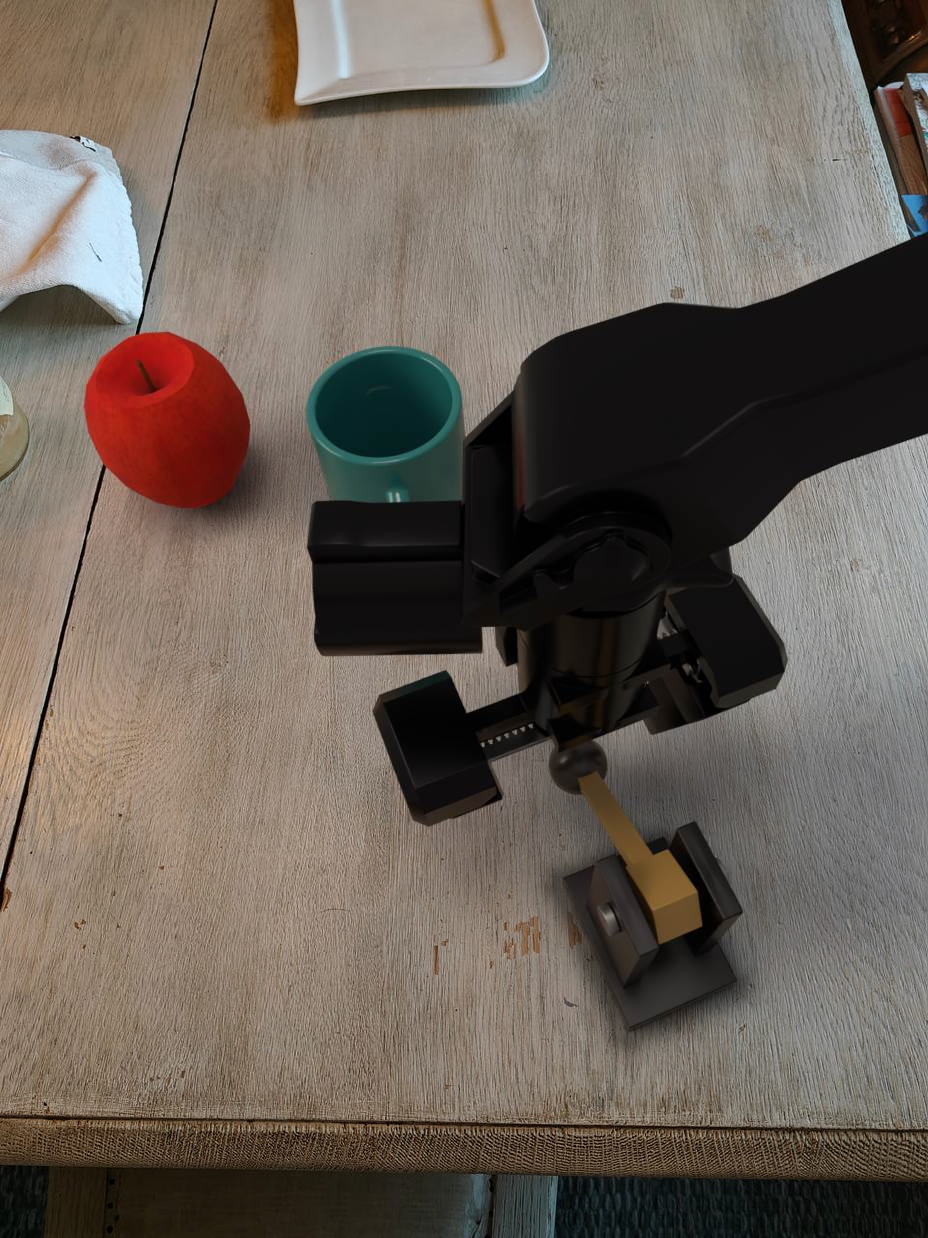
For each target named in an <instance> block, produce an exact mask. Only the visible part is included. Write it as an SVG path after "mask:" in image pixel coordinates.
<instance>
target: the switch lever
mask: <svg viewBox="0 0 928 1238" xmlns="http://www.w3.org/2000/svg"><path fill="white" fill-rule="evenodd" d="M608 762H609V761H608V757H607V753H606V752H605V750H604V748H603V747H602V746H601V744H600V743H598V742H597V741H596V740H595V739H593V740H591V741H588V742H586V743H583V744H581V745H578V746H576V747H573V748H571V749H568V750H566V751H563V752H560V753H557V750H556V748H555V746H553V748H552V749H551V752H550V754H549V757H548V771H549V775H550V777H551V779H552V781H553V782H554V784H555V786H557V788H559V789H560V790H562V792H565V793H567V794H570V795H574V796H583V797H584V799H585V800H586V803H588V805H589V806H590V808H591V810H592V811H593V813H594V816H595V817H596V818H597V819H598V821H599V823H600V824H601V826H602V827H603V829H604V830H605V832H606V834H607V835H608V837H609V839H610V840H611V842H612V844H613V845H614V846H615V848H616V849H617V851H618V853H619V855H620V854H621V856H622V857H623V859H624V861H625V862H626V864H627V865H628V866H626V872H627V877H628V881H629V883H630V885H631V887H632V889H633V892H634V894H635V896H636V898H637V900H638V902H639V904H640V906H641V908H642V910H643V913H644V915H645V917H646V919H647V921H648V923H649V925H650V927H651V929H652V931H653V933H654V936H655V938H656V940H657V942H658V944H662V943H664V942H667V941H669V940H671V939H674V938H676V937H678V936H681V935H683V934H685V933H688V932H690V931H692V930H695V929H697V928H699V927H702V919H701V912H700V905H699V898H698V891H697V890H696V888H695V887H694V885H693V884H692V883H691V881H690V880H689V878H688V877H687V875H686V874H685V873H684V871H683V870H682V868H681V867H680V865H679V864H678V863H677V861H676V860H675V858H674V857H673V855H672V854H671V852H670V851H669V850H668V849H667V850H665V851H662V852H660V853H658V854H655V855H653V854H652V852H651V851H650V849H649V848H648V846H647V845H646V842H645V841H644V839H643V838H642V836H641V834H640V833H639V831H638V830H637V829H636V827H635V825H634V824H633V823H632V821H631V819H630V818H629V817H628V815H627V814H626V812H625V811H624V809H623V808H622V806H621V804H619V802H618V800H617V799H616V796H614V794H613V793H612V792H611V790H610V788H609V787H608V785H607V784H606V783H605V780H606V777H607V774H608V770H609V763H608Z"/></svg>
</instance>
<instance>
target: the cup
mask: <svg viewBox="0 0 928 1238" xmlns="http://www.w3.org/2000/svg"><path fill="white" fill-rule="evenodd" d="M463 402H464V401H463V395H462V390H461V386H460V383H459V381H458V379H457V377H456V376H455V374H454V373H453V371H451V369H450V368H449V367H448V365H446V364H445V363H444V362H443V361H442V360H440V359H439V358H437V357H435V356H433V355H431V354H430V353H428V352H425V351H422V350H420V349H416V348H412V347H408V346H398V345H385V346H382V345H381V346H374V347H369V348H366V349H361V350H359V351H356V352H353V353H351V354H348V355H346V356H344V357H342V358H341V359H339V360H337V361H336V362H334V363H333V364H332V365H330V366H329V367H328V368H327V369H326V370H324V372H323V373H321V375H320V376H319V377H318V378H317V380H316V381H315V383H314V384H313V385H312V387H311V390H310V391H309V394H308V398H307V401H306V407H305V417H306V418H305V419H306V424H307V427H308V430H309V431H308V432H309V433H310V437H311V440H312V444H313V447H314V450H315V454H316V457H317V460H318V463H319V464H318V465H319V467H320V471H321V473H322V476H323V477H322V478H323V480H324V484H325V487H326V490H327V493H328V497H329V500H351V501H360V502H371V503H380V502H416V501H451V500H461V501H462V478H463V440H464V438H465V437H466V436H467V435H466V425H465V416H464V415H465V414H464V403H463Z"/></svg>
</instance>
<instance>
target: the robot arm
mask: <svg viewBox="0 0 928 1238" xmlns="http://www.w3.org/2000/svg"><path fill="white" fill-rule="evenodd" d="M519 369H520V372H519V373H518V375H517V377H516V380H515V383H514V386H513V388H512V391H510V393H509V394H507V396H506V397H505V398H503V400H502V401H500V402H499V403H498V405H496V407H494V408H493V410H491V411H490V412H489V413H488V414H487V415H486V416H485V417H484V419H482V420H481V421H480V422H479V423H478V424H477V425H476V426H475V427H474V428H473V429H472V430H471V431H469V433H468V434H467V435H466V437H465V438H464V440H463V478H462V501H461V500H451V501H416V502H380V503H371V502H360V501H351V500H330V499H328V500H315V501H314V502H312V503H311V506H310V514H309V523H308V533H307V540H306V541H307V542H306V550H307V553H308V556H309V558H310V561H311V573H312V574H311V578H312V579H311V580H312V581H311V583H312V599H313V600H312V601H313V609H314V625H313V626H314V627H313V641H314V644H315V646H316V650H317V652H318V653H319V654H320V656H322V657H325V658H326V657H328V658H329V657H330V658H331V657H372V656H373V657H375V656H376V657H379V656H380V657H381V656H424V655H425V656H428V655H429V656H430V655H431V656H432V655H436V656H437V655H482V654H483V652H484V639H483V637H484V636H483V628H494V635H495V636H494V639H495V640H494V641H495V648H496V649H497V651H498V654H499V657H500V658H501V660H502V663H503V665H504V667H505V668H508V667H511V666H514V665H516V668H517V688H518V693H516V694H513V695H511V696H507V697H505V698H503V699H500V700H498V701H495V702H492V703H490V704H487V705H485V706H481V707H479V708H476V709H474V710H471V711H469V712H467V710H466V708H465V705H464V702H463V701H462V698H461V696H460V693H459V692H458V689H457V687H456V684H455V681H454V679H453V678H452V676H451V675H450V673H449V672H448V671H447V669H444V670H441V671H438V672H436V673H434V674H430V675H428V676H425V677H422V678H420V679H417V680H415V681H411V682H409V683H407V684H403V685H401V686H399V687H396V688H393V689H391V690H388V691H385V692H382V693H380V694H378V696H377V699H376V701H375V704H374V706H373V708H372V711H371V712H372V716H373V717H374V721H375V724H376V726H377V728H378V731H379V734H380V736H381V739H382V742H383V745H384V747H385V750H386V753H387V755H388V758H389V761H390V763H391V767H392V769H393V771H394V774H395V777H396V779H397V782H398V785H399V788H400V790H401V793H402V795H403V799H404V800H405V804H406V806H407V809H408V812H409V814H410V818H411V820H412V821H413V822H416V823H417V824H420V825H423V826H424V827H428V828H431V827H432V826H434V825H438V824H439V823H442V822H445V821H448V820H455V819H458V818H461V817H463V816H465V815H468V814H471V813H473V812H477V811H478V810H480V809H483V808H485V807H488V806H491V805H493V804H495V803H496V804H497V803H499V802H500V801H503V799H504V797H505V792H504V790H503V787H502V786H501V783H500V781H499V779H498V776H497V774H496V772H495V769H494V767H493V764H492V763H494V762H497V761H499V760H501V759H504V758H507V757H509V756H512V755H514V754H517V753H519V752H522V751H525V750H527V749H530V748H532V747H535V746H537V745H541V744H543V743H545V742H548V741H550V740H551V742H552V744H553V747H555V748H556V750H557V753H560V752H563V751H566V750H568V749H571V748H573V747H576V746H578V745H581V744H583V743H586V742H588V741H591V740H596V739H598V738H601V737H603V736H606V735H608V734H611V733H613V732H616V731H619V730H622V729H624V728H626V727H629V726H631V725H633V724H636V723H639V722H641V721H643V725H645V727H646V729H647V731H648V733H649V734H650V735H651V736H655V735H659V734H661V733H665V732H668V731H671V730H674V729H677V728H681V727H685V726H687V725H692V724H694V723H698V722H701V721H705V720H707V719H709V718H712V717H714V716H717V715H719V714H722V713H724V712H727V711H729V710H732V709H735V708H737V707H739V706H742V705H745V704H747V703H748V702H750V701H751V700H752V699H755V698H757V697H760V696H762V695H765V694H767V693H769V692H772V691H775V690H776V689H778V686H779V685H780V682H781V680H782V678H783V676H784V674H785V672H786V669H787V665H788V662H789V658H788V654H787V650H786V645H785V642H784V641H783V639H782V638H781V636H780V635H779V633H778V632H777V630H776V628H775V627H774V626H773V624H772V622H771V620H770V619H769V617H768V616H767V614H766V613H765V611H764V609H763V608H762V606H761V604H760V603H759V602H758V601H757V599H756V597H755V596H754V594H753V592H752V591H751V590H750V587H749V586H748V585H747V583H746V581H745V580H744V579H743V577H741V576H740V575H738V574H736V573H734V569H733V565H732V564H733V563H732V557H731V551H730V547H732V546H735V545H737V544H739V543H741V542H743V541H744V540H745V539H746V538H748V537H749V536H750V535H751V534H752V532H754V531H755V529H756V528H757V527H758V526H759V525H760V524H761V523H762V522H763V521H764V520H766V518H767V517H768V516H769V515H770V514H771V513H772V512H773V510H775V509H776V507H777V506H778V505H779V504H780V503H781V502H782V501H783V500H785V499H786V497H787V496H788V495H789V494H790V493H791V492H792V491H793V490H794V488H796V487H797V486H798V484H800V483H802V482H803V481H805V480H807V479H809V478H812V477H814V476H816V475H818V474H820V473H823V472H825V471H827V470H829V469H831V468H834V467H836V466H838V465H841V464H843V463H846V462H850V461H852V460H855V459H858V458H861V457H864V456H867V455H870V454H873V453H875V452H879V451H883V450H885V449H887V448H891V447H894V446H896V445H899V444H902V443H905V442H908V441H912V440H915V439H917V438H919V437H923V436H925V435H928V230H927V231H925V232H923V233H921V234H918V235H916V236H913V237H912V238H909V239H907V240H904V241H903V242H900V243H898V244H896V245H893V246H891V247H889V248H887V249H884V250H881V251H879V252H877V253H875V254H873V255H871V256H868V257H866V258H864V259H861V260H859V261H857V262H854V263H851V264H850V265H848V266H846V267H843V268H841V269H838V270H836V271H834V272H831V273H829V274H827V275H825V276H823V277H820V278H818V279H815V280H813V281H811V282H809V283H807V284H804V285H802V286H800V287H797V288H795V289H792V290H790V291H788V292H786V293H783V294H781V295H778V296H774V297H770V298H768V299H764V300H762V301H757V302H755V303H750V304H748V305H744V306H741V307H732V306H723V305H722V306H720V305H709V304H699V303H687V302H676V301H666V302H665V301H664V302H661V303H656V304H653V305H648V306H646V307H643V308H639V309H637V310H634V311H630V312H627V313H624V314H621V315H618V316H615V317H612V318H608V319H605V320H602V321H599V322H595V323H592V324H589V325H586V326H583V327H580V328H576V329H573V330H569V331H567V332H565V333H562V334H559V335H557V336H555V337H553V338H552V339H550V340H548V341H546V342H545V343H544V344H542V345H540V346H539V347H537V348H536V349H534V350H533V351H532V352H531V353H530V354H529V355H528V356H527V357H526V358H525V359H524V360H523V361H522V362H521V364H520V365H519ZM531 725H532V726H531ZM523 728H524V731H523ZM515 731H516V734H515V733H514V732H515ZM507 734H508V737H507V736H506V735H507ZM498 738H500V740H499V739H498ZM491 740H492V743H491V742H490V741H491ZM483 744H484V745H483Z"/></svg>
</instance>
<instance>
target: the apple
mask: <svg viewBox="0 0 928 1238" xmlns="http://www.w3.org/2000/svg"><path fill="white" fill-rule="evenodd" d="M83 410H84V411H83V412H84V416H85V421H86V422H85V423H86V427H87V434H88V435H89V437H90V440H91V442H92V444H93V446H94V448H95V450H96V453H97V455H98V456H99V458H100V460H101V463H102V464H103V466H105V468H106V469H107V470H108V471H109V472H110V473H112V474H113V476H115V477H116V478H117V479H118V480H119V481H120V482H121V484H122V485H124V487H126V488H127V489H129V490H131V491H133V492H134V493H136V494H138V495H140V496H142V497H144V498H145V499H148V500H150V501H152V502H154V503H157V504H160V505H163V506H164V505H165V506H169V507H174V508H176V509H198V508H201V507H206V506H207V507H208V506H209V505H211V504H213V503H215V502H218V501H220V500H221V499H223V498H224V497H225V496H226V495H227V494H228V493H229V492H230V491H231V490H232V489H233V487H234V485H235V483H236V480H237V478H238V476H239V474H240V472H241V469H242V467H243V465H244V462H245V460H246V458H247V455H248V452H249V445H250V438H251V437H250V435H251V426H252V424H251V421H250V417H249V413H248V409H247V406H246V402H245V399H244V395H243V393H242V391H241V390H240V388H239V386H238V385H237V384H236V382H235V381H234V379H233V378H232V376H231V375H230V373H229V372H228V370H227V368H226V367H225V365H224V364H223V363H222V362H221V361H220V360H219V359H218V358H217V357H216V356H215V355H213V354H212V353H211V352H210V351H208V350H207V349H205V348H204V347H203V346H201V345H200V344H199V343H197V342H194V341H192V340H190V339H189V338H188V339H187V338H185V337H183V336H180V335H178V334H176V333H173V332H171V331H154V332H151V331H150V332H142V333H139V334H136V335H135V334H134V335H131V336H128V337H127V338H125V339H123V340H121V341H120V342H119V343H118V344H117V345H116V346H114V347H113V348H112V349H110V350H109V351H107V352H106V353H105V354H104V355H102V356H101V357H100V358H99V360H98V362H97V363H96V365H95V367H94V370H92V373H91V375H90V376H89V379H88V381H87V383H86V385H85V391H84V400H83Z"/></svg>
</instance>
